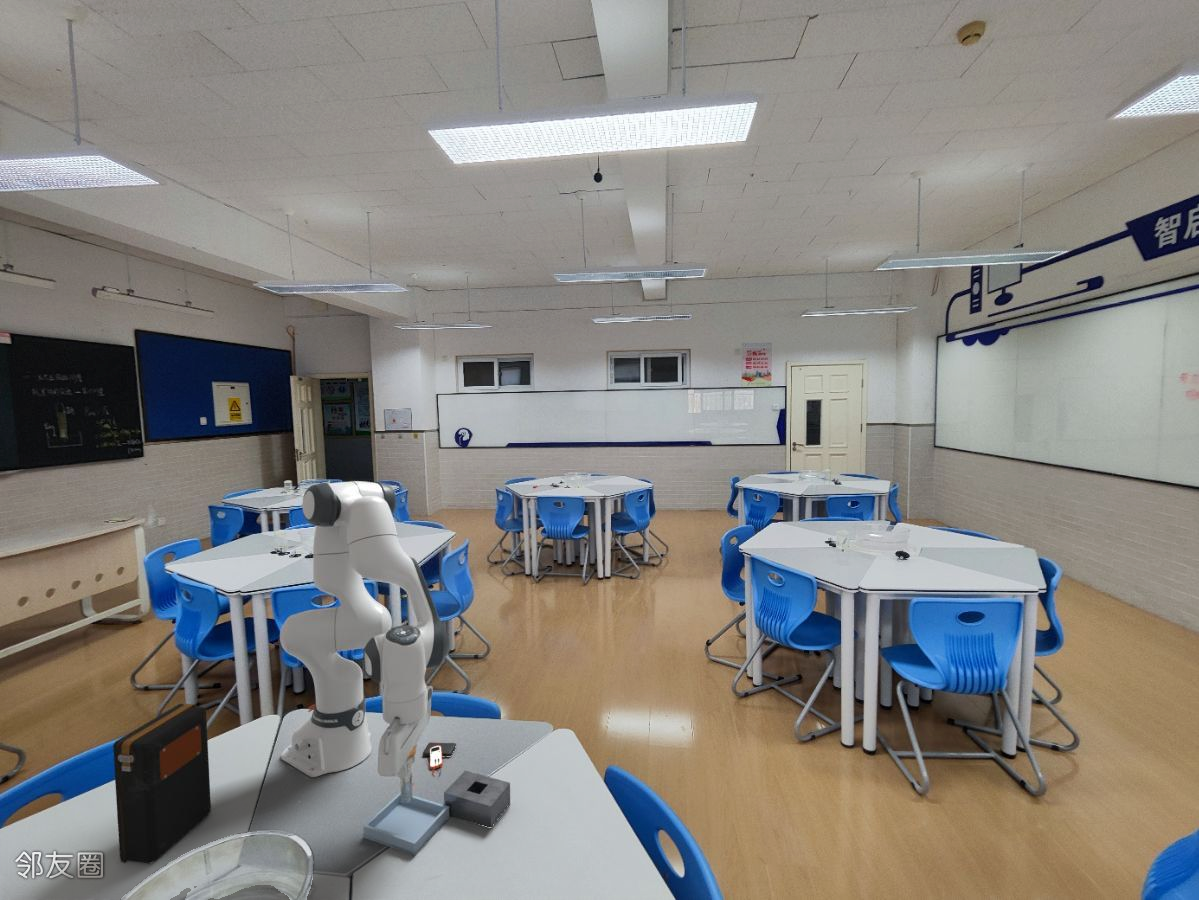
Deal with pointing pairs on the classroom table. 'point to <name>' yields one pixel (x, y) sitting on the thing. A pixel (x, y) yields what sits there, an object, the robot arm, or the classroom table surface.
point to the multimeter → (438, 753)
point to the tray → (406, 823)
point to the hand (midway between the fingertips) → (406, 769)
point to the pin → (407, 780)
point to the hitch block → (477, 798)
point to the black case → (161, 782)
